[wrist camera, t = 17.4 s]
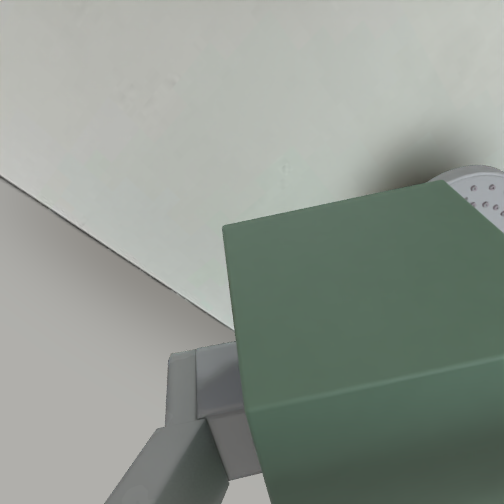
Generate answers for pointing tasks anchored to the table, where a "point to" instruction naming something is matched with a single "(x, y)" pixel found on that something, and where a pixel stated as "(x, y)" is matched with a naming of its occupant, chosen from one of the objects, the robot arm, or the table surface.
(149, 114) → the table surface
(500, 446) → the soap block
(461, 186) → the showerhead
